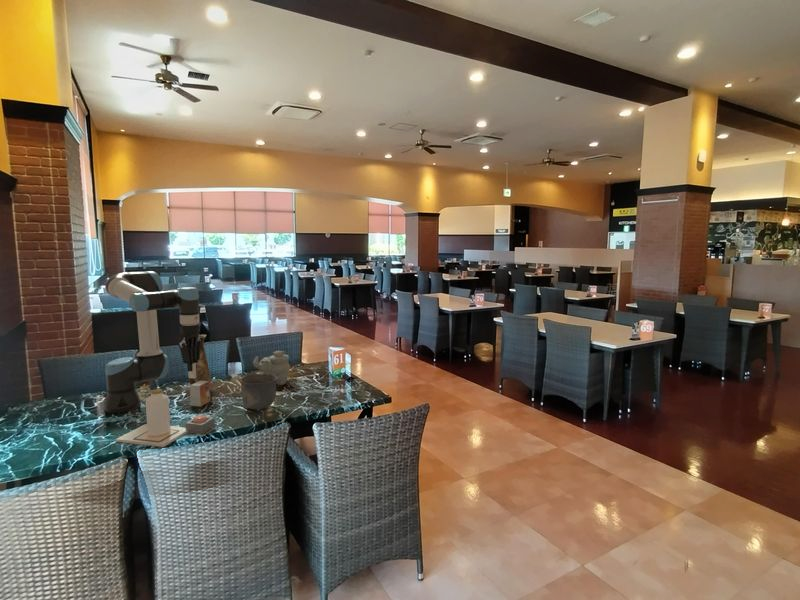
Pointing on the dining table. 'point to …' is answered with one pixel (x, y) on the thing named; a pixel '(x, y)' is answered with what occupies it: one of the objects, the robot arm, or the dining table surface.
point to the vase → (201, 366)
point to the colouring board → (144, 438)
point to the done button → (199, 419)
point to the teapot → (275, 366)
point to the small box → (200, 393)
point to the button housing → (200, 426)
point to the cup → (258, 390)
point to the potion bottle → (157, 413)
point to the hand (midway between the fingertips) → (192, 377)
